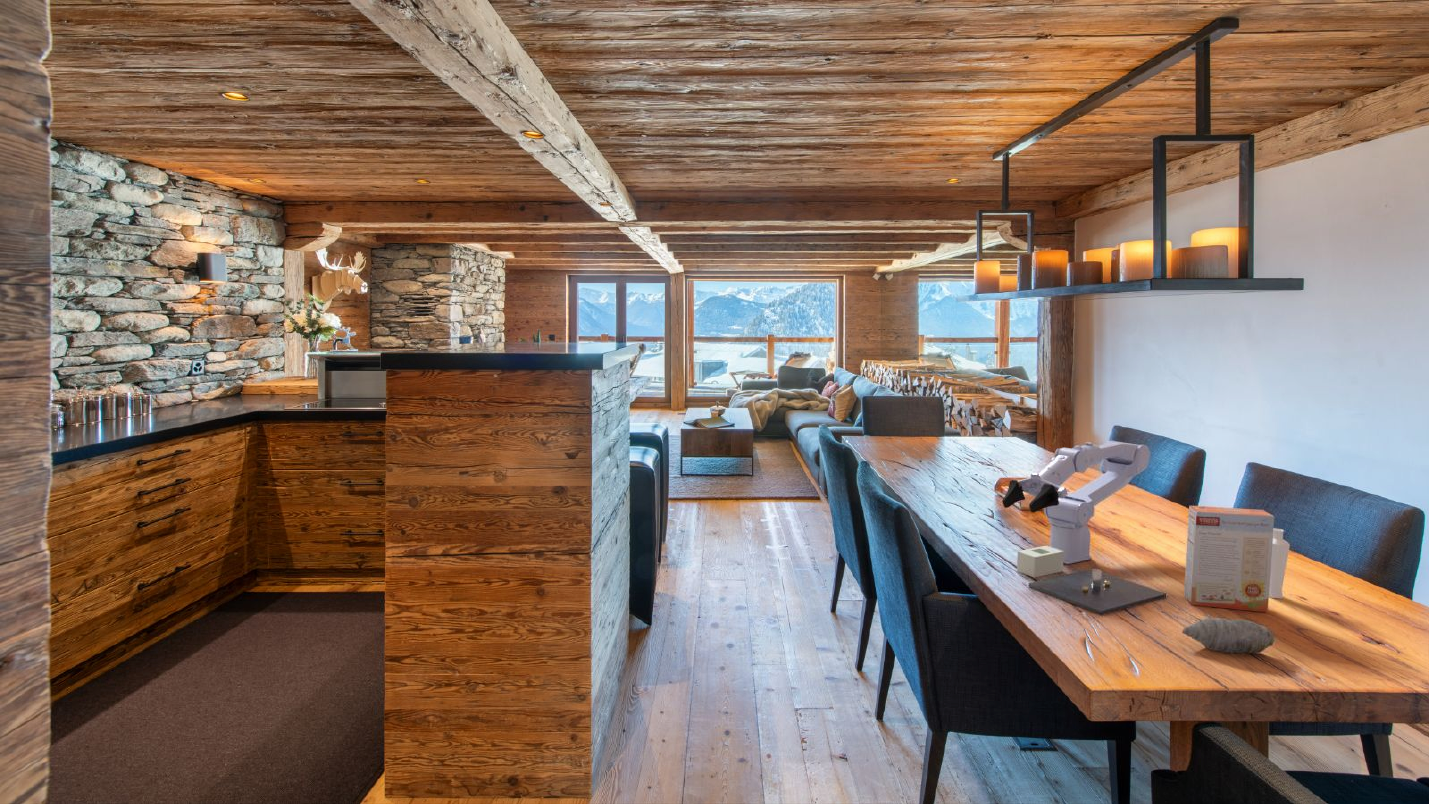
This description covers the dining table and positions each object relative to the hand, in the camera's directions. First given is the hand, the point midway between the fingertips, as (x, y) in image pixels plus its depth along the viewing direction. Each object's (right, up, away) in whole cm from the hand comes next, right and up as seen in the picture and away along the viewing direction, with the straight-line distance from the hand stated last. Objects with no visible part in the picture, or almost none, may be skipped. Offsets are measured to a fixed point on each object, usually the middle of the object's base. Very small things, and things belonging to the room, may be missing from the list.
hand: (1017, 506), depth 171 cm
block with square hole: (+6, -16, +2) cm, 18 cm away
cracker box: (+37, -19, -19) cm, 45 cm away
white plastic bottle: (+51, -18, -14) cm, 56 cm away
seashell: (+22, -21, -40) cm, 50 cm away
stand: (+13, -18, -11) cm, 25 cm away
